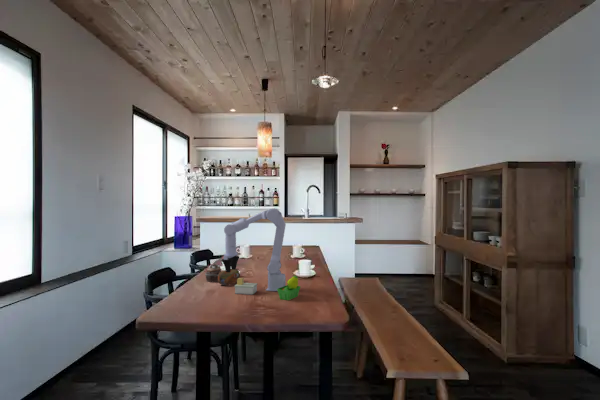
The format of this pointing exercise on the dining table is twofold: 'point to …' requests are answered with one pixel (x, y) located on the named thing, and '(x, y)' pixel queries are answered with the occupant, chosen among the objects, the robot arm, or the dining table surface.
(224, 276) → the tin
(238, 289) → the tub
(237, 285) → the lid
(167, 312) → the dining table surface
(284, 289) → the fruit basket
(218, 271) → the cupcake
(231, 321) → the dining table surface
